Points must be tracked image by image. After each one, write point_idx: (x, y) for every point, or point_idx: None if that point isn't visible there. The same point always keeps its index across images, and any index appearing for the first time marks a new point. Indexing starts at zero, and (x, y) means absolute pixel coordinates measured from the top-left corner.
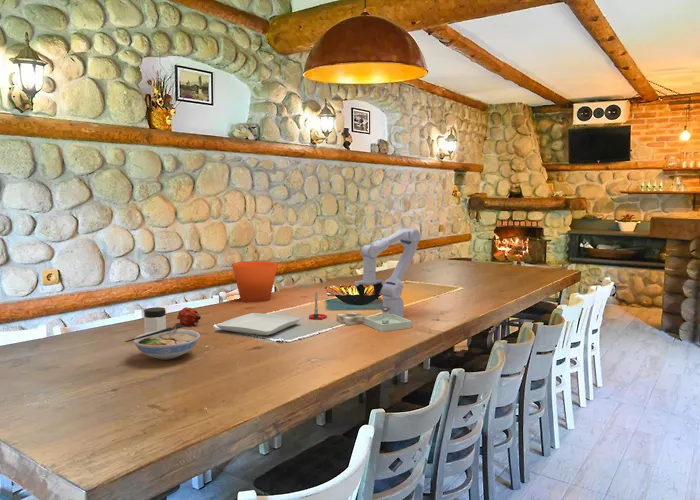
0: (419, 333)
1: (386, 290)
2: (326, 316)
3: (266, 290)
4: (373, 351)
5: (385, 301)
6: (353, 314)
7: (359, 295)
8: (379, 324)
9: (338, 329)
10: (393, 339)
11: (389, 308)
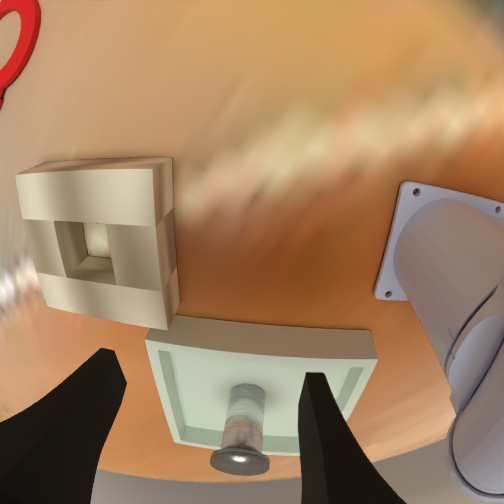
0: (286, 462)
1: (495, 427)
2: (24, 60)
3: None
4: (104, 457)
5: (438, 337)
6: (107, 233)
7: (64, 385)
8: (172, 432)
9: (33, 315)
10: (178, 457)
11: (253, 473)
